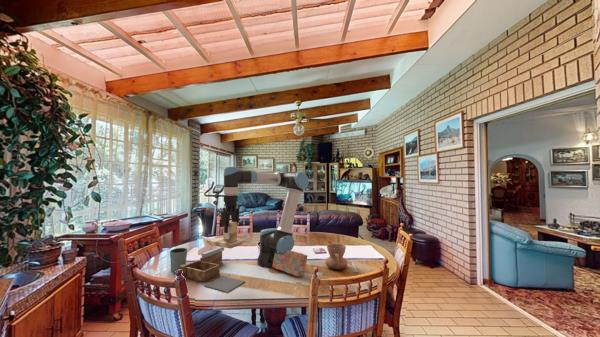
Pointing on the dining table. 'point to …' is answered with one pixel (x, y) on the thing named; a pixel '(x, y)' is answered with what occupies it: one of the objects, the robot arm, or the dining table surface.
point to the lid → (227, 242)
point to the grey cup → (178, 258)
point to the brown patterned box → (290, 262)
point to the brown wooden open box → (203, 268)
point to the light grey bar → (212, 252)
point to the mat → (225, 284)
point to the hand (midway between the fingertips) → (230, 237)
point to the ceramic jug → (336, 256)
